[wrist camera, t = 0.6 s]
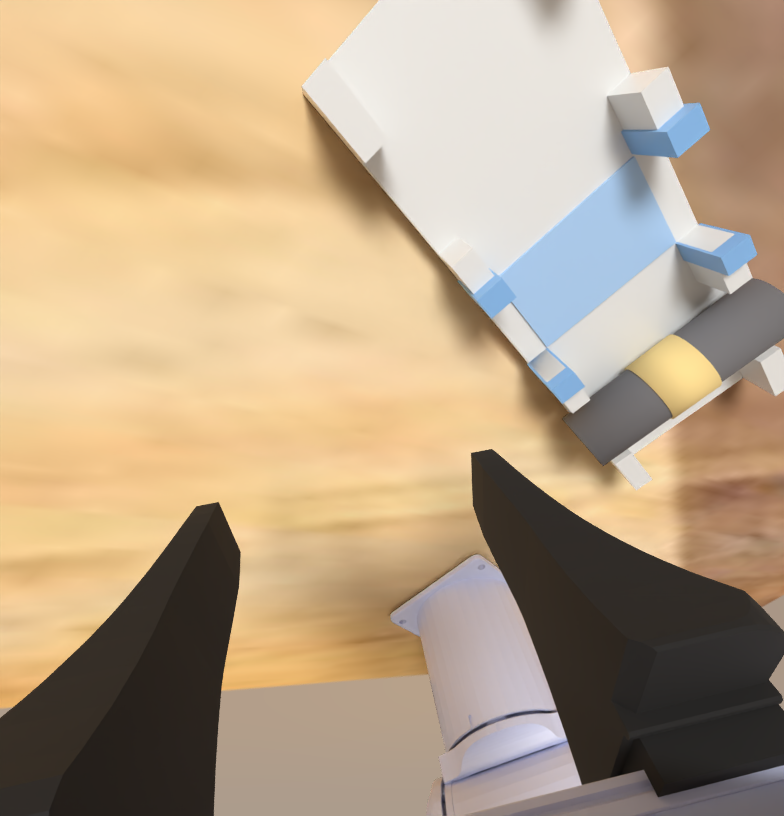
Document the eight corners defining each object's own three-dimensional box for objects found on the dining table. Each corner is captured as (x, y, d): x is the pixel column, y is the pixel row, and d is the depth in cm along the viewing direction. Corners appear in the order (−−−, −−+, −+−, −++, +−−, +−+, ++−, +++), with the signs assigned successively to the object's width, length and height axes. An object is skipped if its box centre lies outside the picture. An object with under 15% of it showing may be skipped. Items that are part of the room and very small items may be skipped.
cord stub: (730, 268, 21) (793, 289, 18) (751, 315, 22) (811, 341, 20) (552, 407, 23) (583, 443, 21) (581, 440, 25) (614, 478, 22)
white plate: (747, 356, 25) (807, 387, 22) (604, 457, 27) (641, 499, 24) (511, -155, 13) (571, -238, 10) (300, 95, 16) (299, 87, 13)
